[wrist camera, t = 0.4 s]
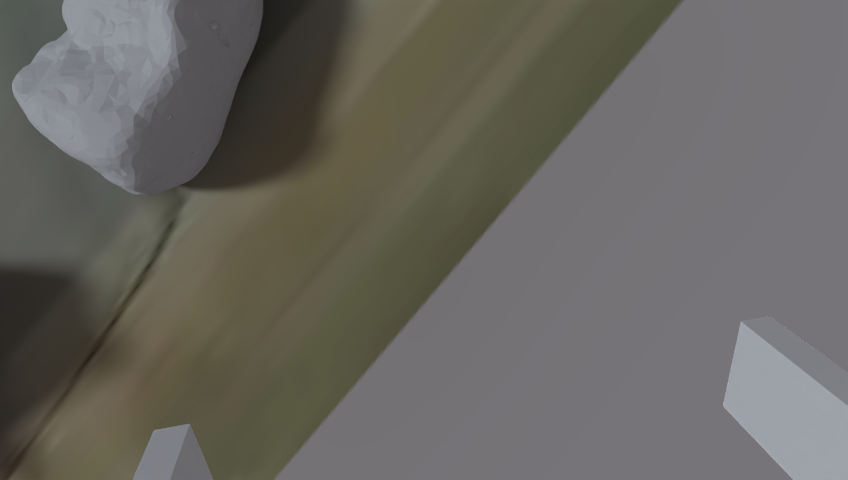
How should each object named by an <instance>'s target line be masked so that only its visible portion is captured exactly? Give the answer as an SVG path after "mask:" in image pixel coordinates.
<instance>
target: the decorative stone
mask: <svg viewBox="0 0 848 480" xmlns="http://www.w3.org/2000/svg"><path fill="white" fill-rule="evenodd" d="M62 15H63V18H64V21H65V23H66V25H67V28H68V30H67V31H66V32H65V33H64V34H63V35H62V36H61V37H59V38H58V39H57V40H56V41H52V42H48V43H47V44H46V45H45V46H43V47H42V48H41V49H40V51H39V52H38V53H37V54H36V56H35V57H34V59H33V61H32V62H31V64H30V65H28V66H25V67H23V68H22V69H21V71H20V72H19V73H18V74H17V75H16V77H15V79H14V80H13V84H12V90H13V94H14V96H15V98H16V100H17V101H18V103H19V105H20V106H21V108H22V109H23V111H24V112H25V114H26V115H27V118H28V120H29V121H30V122H31V123H32V124H33V126H34V127H35V128H36V129H37V130H38V131H39V132H41V133H42V134H43V135H44V136H45V137H47V138H48V139H49V140H51V141H52V142H53V143H54V144H55V145H57V146H58V147H59V148H60V149H61V150H63V151H64V152H65V153H67V154H68V155H70V156H72V157H74V158H76V159H78V160H80V161H82V162H84V163H86V164H88V165H90V166H91V167H92V168H94V169H95V170H96V171H98V172H99V173H100V174H102V175H103V176H104V177H105V178H106V179H107V180H109V181H110V182H112V183H114V184H116V185H119V186H120V187H122V188H123V189H125V190H127V191H128V192H130V193H133V194H135V195H146V196H150V195H154V194H158V193H161V192H163V191H165V190H168V189H171V188H174V187H176V186H179V185H181V184H184V183H186V182H188V181H190V180H191V179H192V178H194V177H195V176H196V175H197V174H198V173H199V172H200V171H201V170H202V169H203V168H204V166H205V165H206V164H207V163H208V160H209V158H210V156H211V154H212V153H213V151H214V150H215V148H216V146H217V145H218V143H219V141H220V138H221V135H222V132H223V129H224V126H225V122H226V119H227V116H228V113H229V111H230V108H231V105H232V101H233V98H234V95H235V91H236V89H237V85H238V83H239V80H240V78H241V76H242V73H243V71H244V69H245V67H246V65H247V63H248V61H249V59H250V56H251V54H252V51H253V49H254V46H255V44H256V41H257V38H258V35H259V31H260V26H261V21H262V16H263V0H64V2H63V5H62Z"/></svg>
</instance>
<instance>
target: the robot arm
mask: <svg viewBox="0 0 848 480" xmlns="http://www.w3.org/2000/svg"><path fill="white" fill-rule="evenodd" d="M723 407H724V408H725V409H726V410H727V411H728V412H729V413H730V414H731V415H732V416H733V417H734V418H735V419H736V420H737V421H738V422H739V423H740V424H741V425H742V426H743V428H744V429H745V430H746V431H747V432H748V433H749V434H750V435H751V436H752V437H753V438H754V439H755V440H756V441H757V442H758V443H759V444H760V445H761V446H762V447H763V448H764V450H765V451H766V452H767V453H768V454H769V455H770V456H771V457H772V458H773V459H774V460H775V461H776V462H777V463H778V464H779V465H780V466H781V467H782V468H783V469H784V470H785V472H786V473H787V474H788V475H789V476H790V477H791V478H792V479H793V480H848V373H847V372H846V371H845V370H843V369H842V368H840V367H839V366H838V365H836V364H835V363H834V362H832V361H831V360H829V359H828V358H827V357H825V356H824V355H822V354H821V353H819V352H818V351H817V350H816V349H814V348H813V347H811V346H810V345H809V344H807V343H806V342H804V341H803V340H802V339H800V338H799V337H798V336H796V335H795V334H794V333H792V332H790V331H789V330H788V329H787V328H785V327H784V326H783V325H781V324H780V323H778V322H777V321H776V320H774V319H773V318H772V317H770V316H768V317H763V318H757V319H753V320H747V321H741V324H740V329H739V333H738V338H737V343H736V347H735V352H734V356H733V361H732V366H731V370H730V375H729V380H728V384H727V389H726V394H725V398H724V403H723ZM133 480H213V478H212V476H211V473H210V471H209V469H208V466H207V464H206V461H205V459H204V457H203V454H202V452H201V449H200V447H199V444H198V442H197V440H196V437H195V435H194V432H193V430H192V428H191V425H190V424H186V425H180V426H175V427H169V428H164V429H159V430H154V431H153V434H152V436H151V438H150V441H149V443H148V445H147V447H146V450H145V452H144V454H143V457H142V459H141V461H140V464H139V466H138V468H137V471H136V473H135V475H134V478H133Z"/></svg>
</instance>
